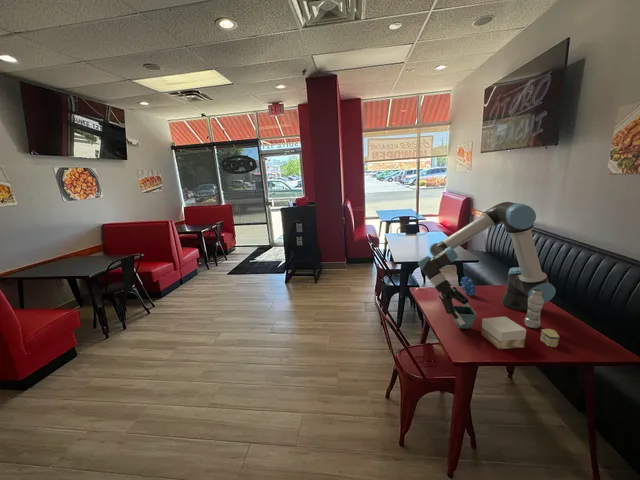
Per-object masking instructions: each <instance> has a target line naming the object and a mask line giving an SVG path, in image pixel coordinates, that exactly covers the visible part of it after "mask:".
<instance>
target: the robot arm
mask: <svg viewBox="0 0 640 480" xmlns="http://www.w3.org/2000/svg"><path fill="white" fill-rule="evenodd" d="M536 219H537V214H536V211H535V209H534V208H533V207H532V206H530V205H527V204H525V203H515V202H511V201H503V202H500V203H498V204H495V205H493V206H492V207H490V208H488V209H487V210H485V211H483V212H482V213H481V216H479V217H477V218H476V219H474V220H473V221H471V222H469V223H468V224H466V225H465V226H463V227H462V228H461V229H459V230H457V231H455V232H454V233H452V234H450V235H449V236H447V237H446V238H445V239H443V240H441V241H439V242H435V243H432V244H431V245H430V246H429V252H430V254H431V256H432V257H430V256H429V255H427V256H425V257H423V258H422V259H420V260H419V261H418V262H417V265H418V266H419V268H420V270H421V271H422V272H423V274H424V275H425V276H426V278H427V279H428V280H429V282H430V283H431V284H432V285H433V286H434V288H435V290H436V291H437V292H438V293H440V295H438V297H439V298H440V299H439V300H440V301H441V303H442V306H444V310H445V312H446V314H447V315H451V316H452V317H454V318H455V319H456V321H457V322H458V323H459V325H462V324H465V322H464V321H463V319H462V318H461V317H460V315H459V314H458V313H457V311H455V310H454V306H455V305H454V303H453V299H454V300H456V301H457V302H459V303H461V304H462V306H466V307H471V305H470V304H469V302H470V301H469V299H468V298H467V297H466V296H465V295H464V294H463V293H462V292H461V291H460V290H458V288H457V287H455V286H453V287H451V286H452V283H450V282H449V280H448V279H447V277H446V276H445V275H444V274H443V272H442V271H441V270H442V269H443V268H444V267H446V266H448V265H451V263H453V262H455V260H457V259H458V258H459V254H457V251H455V249H457V248H458V247H460V246H461V245H463V244H464V243H467V242H469V241H470V240H471V239H473V238H474V237H476V236H479V234H481V233H483V232H485V231H486V230H488V229H489V228H494V227H496V226H499V225H501V224H502V225H503V226H504V230H505V232H506V233H507V234H508V235H510V239H511V241H512V245H513V249H514V251H515V256H516V260H517V262H518V267H515V266H513V267H510V268H509V271H508V272H507V280H506V283H507V284H506V290H505V292H504V294H503V296H502V298H501V303H500V304H501V305H502V306H503V307H506V308H508V309H511V310H514V311H519V312H527V310H528V297H529V296H530V295H532V294H533V293H532V291H533V289H539V290H541V291H542V295H541V296H542V298H543V300H544V303H547V302H549V301H551V300H552V299H553V298H554V297H555V294H556V287H555V286H554V285H553V284H552V283H550V282H549V279H548V275H547V274H546V273H545V272H543V271H542V268H541V264H540V259H539V257H538V256H539V255H538V252H537V248H536V245H535V241H534V237H533V234H532V230H533V229H534V227H535V225H534V224H535V222H536ZM472 310H473V311H474V309H473V308H472ZM474 313H475V314H476V315H477V313H476V312H475V311H474ZM454 318H453V319H454Z"/></svg>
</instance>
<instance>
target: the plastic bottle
mask: <svg viewBox="0 0 640 480" xmlns="http://www.w3.org/2000/svg"><path fill="white" fill-rule="evenodd" d="M532 293H533V294H532V295H530V296H529V297H528V310H527V311H526V315H525V317H524V319H523V320H524V325H525V326H526V327H528V328H530V329H538V328H539V327H540V326H541V312H542V310H543V309H542V308H543V306H544V303H545V302H544V300H543V298H542V296H541V295H542V291H541V290H539V289H533V291H532Z"/></svg>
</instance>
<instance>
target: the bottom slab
mask: <svg viewBox="0 0 640 480" xmlns="http://www.w3.org/2000/svg"><path fill="white" fill-rule="evenodd" d="M480 333H481V335H482V336H483V338H485V339H486V340H487V341H488V342H490V343H491V344H492V345H493V346H494V347H495V348H497V349H498V350H505V349H515V348H516V349H519V348H525V344H526V338H525V339H518V340H509V341H499V340H498V339H497V338H495V337H494V336H493V335H492V334H490V333H489V332H488V331H486V330H485V329H484V328H482V327H481V332H480Z"/></svg>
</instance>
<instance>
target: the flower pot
mask: <svg viewBox="0 0 640 480" xmlns="http://www.w3.org/2000/svg"><path fill="white" fill-rule="evenodd" d="M453 306H454V310H455V311H457V313H458V314H459V315H460V317H461V318H462V319H463V321H464V322H465V324H462V325H459V323H458V322H457V321H456V319H455V318H454V317H453V316H452V317H453V320H454V322H455V324H456V326H457V328H458V329H470V328H471V327H473V325H474V323H475V319H476V316H477V313H476V312H475V310H474V309H473V308H472V307H471V306H470V307H466V306H463V305H462V306H461V305H453ZM472 309H473V310H472ZM474 312H475V313H476V314H475V313H474Z"/></svg>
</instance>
